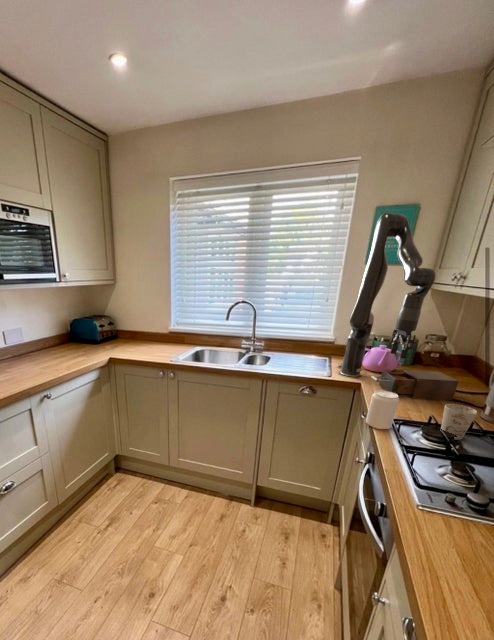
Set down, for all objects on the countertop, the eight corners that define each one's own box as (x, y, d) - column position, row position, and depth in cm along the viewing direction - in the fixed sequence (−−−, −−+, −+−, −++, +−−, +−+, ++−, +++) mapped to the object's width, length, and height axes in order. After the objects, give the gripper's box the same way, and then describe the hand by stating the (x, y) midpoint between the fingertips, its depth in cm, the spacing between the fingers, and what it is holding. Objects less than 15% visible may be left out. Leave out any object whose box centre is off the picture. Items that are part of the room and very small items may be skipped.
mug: (433, 435, 112) (443, 408, 108) (440, 424, 120) (449, 398, 116) (464, 444, 106) (475, 416, 103) (470, 432, 114) (480, 405, 111)
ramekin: (388, 385, 153) (390, 375, 152) (400, 386, 153) (403, 376, 151) (393, 389, 148) (396, 379, 146) (407, 390, 148) (410, 380, 146)
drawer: (376, 393, 146) (380, 378, 144) (365, 384, 158) (369, 370, 155) (426, 396, 144) (431, 381, 142) (411, 387, 156) (415, 372, 153)
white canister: (390, 423, 119) (399, 392, 115) (390, 432, 113) (400, 400, 108) (365, 418, 123) (373, 388, 118) (364, 426, 116) (372, 395, 112)
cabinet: (413, 398, 145) (418, 378, 141) (397, 387, 157) (403, 369, 154) (452, 400, 143) (459, 380, 140) (433, 389, 156) (439, 371, 152)
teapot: (360, 374, 177) (366, 348, 172) (353, 363, 196) (358, 340, 191) (406, 378, 171) (414, 352, 166) (394, 367, 191) (401, 344, 186)
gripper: (427, 321, 133) (415, 360, 139) (408, 316, 146) (398, 352, 152) (407, 320, 133) (396, 359, 139) (391, 315, 146) (381, 351, 153)
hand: (397, 355), depth 146 cm, fingers open, 8 cm apart
